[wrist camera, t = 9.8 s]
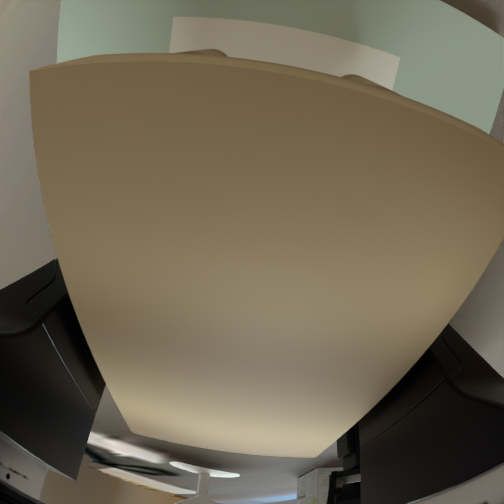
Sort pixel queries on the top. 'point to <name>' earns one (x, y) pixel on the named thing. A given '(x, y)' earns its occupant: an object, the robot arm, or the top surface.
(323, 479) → the light bulb box
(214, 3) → the sage board
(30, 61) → the top surface
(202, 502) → the heart sculpture
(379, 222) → the maple stool
